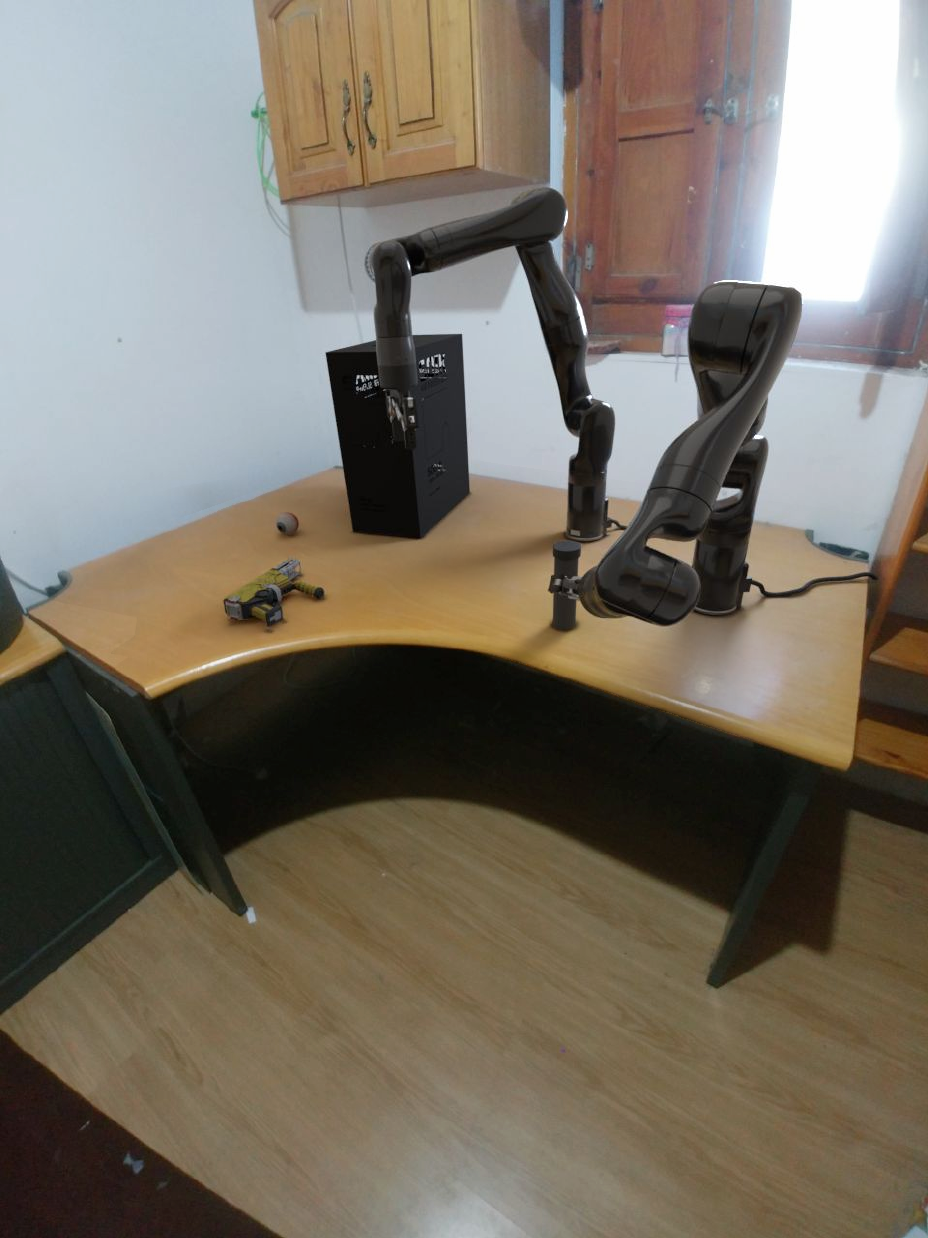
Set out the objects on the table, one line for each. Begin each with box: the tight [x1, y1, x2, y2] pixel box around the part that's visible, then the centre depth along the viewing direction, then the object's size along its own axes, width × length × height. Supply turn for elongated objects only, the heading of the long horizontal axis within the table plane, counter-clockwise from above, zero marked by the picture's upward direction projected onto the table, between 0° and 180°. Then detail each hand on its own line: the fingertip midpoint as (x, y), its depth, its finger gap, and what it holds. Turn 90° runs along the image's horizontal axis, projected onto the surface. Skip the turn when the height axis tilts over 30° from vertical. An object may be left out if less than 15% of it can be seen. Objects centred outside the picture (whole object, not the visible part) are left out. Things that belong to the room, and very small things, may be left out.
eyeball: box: [275, 511, 300, 536], centre depth 163 cm, size 6×6×6 cm
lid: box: [552, 539, 582, 560], centre depth 109 cm, size 5×5×2 cm
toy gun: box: [222, 557, 325, 628], centre depth 130 cm, size 5×24×15 cm
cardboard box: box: [325, 333, 471, 539], centre depth 165 cm, size 38×20×45 cm, turn 159°
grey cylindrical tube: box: [552, 557, 580, 631], centre depth 112 cm, size 4×4×16 cm
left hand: (404, 444), depth 126 cm, fingers open, 8 cm apart
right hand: (589, 594), depth 96 cm, fingers open, 8 cm apart
